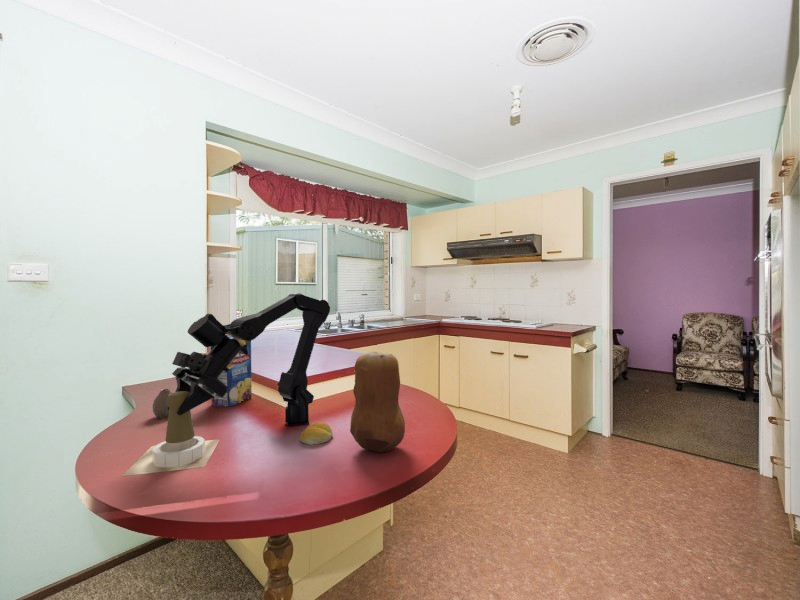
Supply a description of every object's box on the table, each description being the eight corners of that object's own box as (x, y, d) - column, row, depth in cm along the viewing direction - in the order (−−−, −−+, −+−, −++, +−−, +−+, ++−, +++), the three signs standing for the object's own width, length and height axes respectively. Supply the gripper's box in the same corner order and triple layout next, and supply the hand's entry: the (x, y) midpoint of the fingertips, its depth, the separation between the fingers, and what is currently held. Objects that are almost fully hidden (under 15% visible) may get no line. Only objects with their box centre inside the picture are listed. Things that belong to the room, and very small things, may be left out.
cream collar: (209, 445, 93) (208, 434, 93) (197, 464, 83) (197, 451, 83) (163, 450, 91) (162, 438, 91) (145, 470, 81) (145, 456, 80)
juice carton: (236, 396, 142) (235, 334, 141) (251, 398, 139) (251, 335, 139) (211, 405, 131) (210, 338, 130) (227, 407, 128) (226, 339, 128)
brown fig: (147, 418, 117) (147, 391, 117) (168, 412, 123) (168, 386, 123) (162, 421, 114) (161, 393, 114) (182, 414, 121) (182, 388, 121)
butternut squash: (400, 437, 101) (399, 347, 100) (409, 458, 88) (409, 355, 87) (349, 440, 99) (348, 348, 98) (351, 463, 85) (350, 357, 85)
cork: (171, 445, 83) (170, 397, 82) (161, 439, 86) (159, 393, 86) (199, 436, 88) (198, 391, 87) (188, 431, 91) (187, 387, 91)
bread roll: (295, 445, 96) (295, 430, 96) (309, 432, 105) (309, 418, 105) (324, 447, 95) (324, 432, 95) (336, 434, 104) (336, 420, 104)
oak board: (220, 443, 97) (220, 439, 97) (204, 471, 82) (204, 466, 82) (151, 449, 93) (151, 446, 93) (121, 480, 78) (121, 476, 78)
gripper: (179, 336, 95) (130, 387, 87) (213, 342, 84) (160, 401, 75) (211, 361, 102) (168, 411, 93) (246, 369, 90) (201, 427, 82)
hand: (173, 412), depth 86 cm, fingers closed on cork, 5 cm apart
